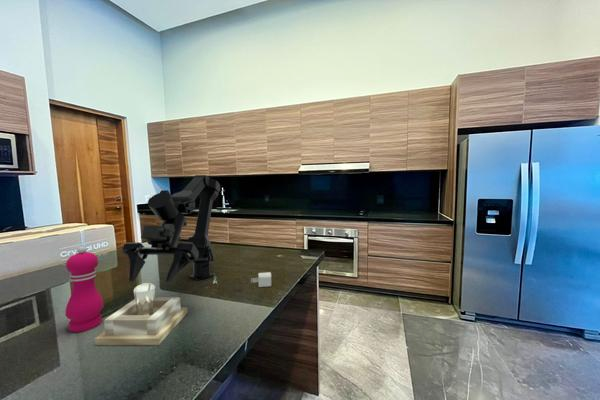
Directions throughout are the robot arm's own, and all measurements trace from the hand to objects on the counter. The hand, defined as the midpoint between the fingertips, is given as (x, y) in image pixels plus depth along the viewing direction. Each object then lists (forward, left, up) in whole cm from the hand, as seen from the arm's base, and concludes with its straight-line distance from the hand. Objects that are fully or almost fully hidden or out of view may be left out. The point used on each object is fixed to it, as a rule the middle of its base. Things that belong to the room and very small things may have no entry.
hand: (149, 281), depth 63 cm
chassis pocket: (+1, -1, -11) cm, 11 cm away
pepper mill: (-12, -10, -11) cm, 19 cm away
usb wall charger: (+4, +34, -11) cm, 36 cm away
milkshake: (+1, -1, -9) cm, 10 cm away
